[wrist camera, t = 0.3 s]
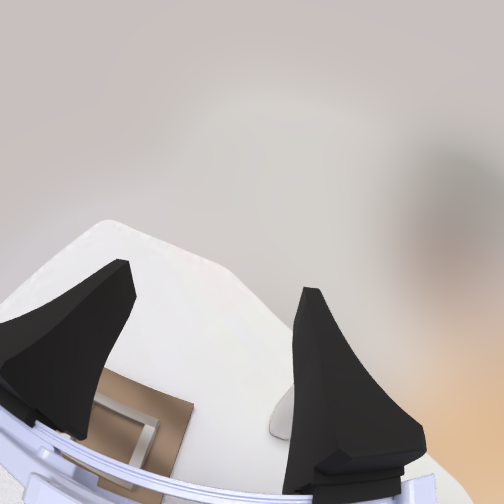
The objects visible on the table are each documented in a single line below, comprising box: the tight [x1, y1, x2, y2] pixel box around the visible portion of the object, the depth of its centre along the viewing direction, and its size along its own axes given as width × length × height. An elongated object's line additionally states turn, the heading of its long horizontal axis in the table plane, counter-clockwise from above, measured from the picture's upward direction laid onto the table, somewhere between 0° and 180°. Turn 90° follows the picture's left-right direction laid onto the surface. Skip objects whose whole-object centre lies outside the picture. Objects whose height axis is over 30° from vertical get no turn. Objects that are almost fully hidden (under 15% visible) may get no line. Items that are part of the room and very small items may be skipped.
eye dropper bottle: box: [270, 383, 294, 440], centre depth 23 cm, size 4×6×12 cm
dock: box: [56, 368, 194, 504], centre depth 19 cm, size 15×13×2 cm
